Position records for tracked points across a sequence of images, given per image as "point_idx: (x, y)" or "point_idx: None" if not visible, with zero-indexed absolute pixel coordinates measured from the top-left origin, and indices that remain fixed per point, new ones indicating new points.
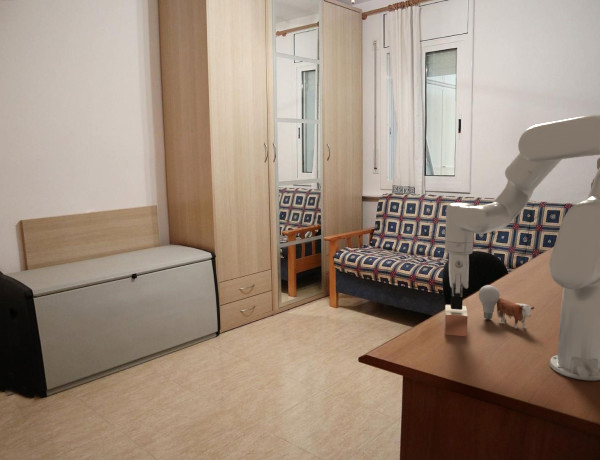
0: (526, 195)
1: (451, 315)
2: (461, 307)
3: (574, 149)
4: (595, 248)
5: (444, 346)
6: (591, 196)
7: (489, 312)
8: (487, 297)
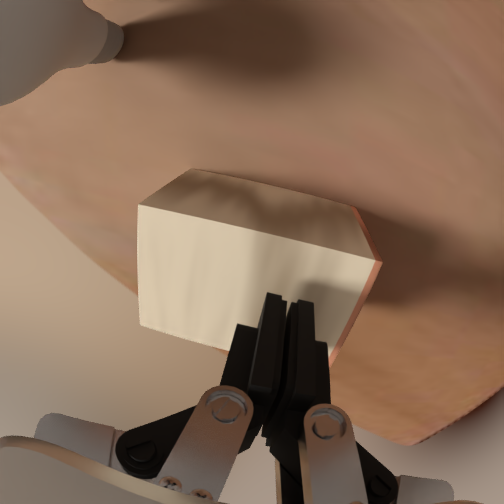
0: None
1: (340, 346)
2: (311, 315)
3: None
4: None
5: (435, 322)
6: None
7: (107, 31)
8: (49, 33)
